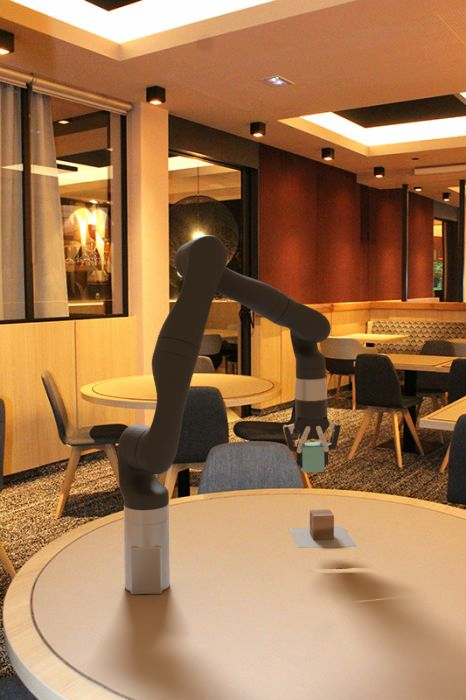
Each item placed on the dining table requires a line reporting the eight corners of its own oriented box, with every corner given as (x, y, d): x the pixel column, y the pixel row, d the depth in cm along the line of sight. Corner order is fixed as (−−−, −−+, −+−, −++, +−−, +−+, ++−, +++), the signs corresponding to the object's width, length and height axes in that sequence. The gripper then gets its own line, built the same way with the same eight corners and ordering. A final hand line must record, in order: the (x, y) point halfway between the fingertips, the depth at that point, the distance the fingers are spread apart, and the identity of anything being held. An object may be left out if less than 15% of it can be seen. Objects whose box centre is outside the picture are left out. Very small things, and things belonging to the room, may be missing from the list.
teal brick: (324, 471, 168) (324, 446, 167) (303, 472, 167) (303, 447, 167) (320, 466, 173) (319, 442, 172) (299, 467, 172) (299, 442, 172)
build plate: (356, 549, 167) (356, 545, 167) (297, 550, 166) (297, 547, 166) (343, 529, 181) (343, 526, 181) (288, 531, 180) (288, 528, 180)
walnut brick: (333, 539, 171) (334, 515, 171) (313, 540, 171) (313, 515, 170) (329, 532, 176) (329, 509, 176) (309, 533, 176) (309, 509, 175)
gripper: (283, 400, 164) (284, 472, 166) (344, 398, 165) (345, 469, 167) (278, 395, 171) (280, 464, 173) (337, 393, 172) (338, 461, 174)
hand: (312, 466), depth 170 cm, fingers closed on teal brick, 5 cm apart
